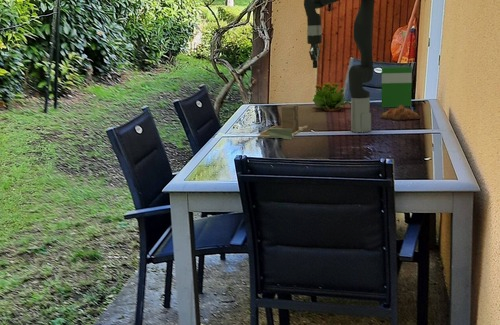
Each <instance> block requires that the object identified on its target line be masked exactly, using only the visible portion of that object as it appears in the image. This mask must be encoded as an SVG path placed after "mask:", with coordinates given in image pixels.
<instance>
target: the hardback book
mask: <svg viewBox="0 0 500 325" xmlns="http://www.w3.org/2000/svg"><path fill="white" fill-rule="evenodd" d="M412 69H413V68H412V66H391V67H390V66H388V67H387V66H386V67H385V66H383V67H381V108H382V107H397V108H398V106H399V105H404V106H411V107H412V88H413V87H412V86H413V85H412V83H413V82H412V80H413V78H412V76H413V72H412V71H413V70H412Z"/></svg>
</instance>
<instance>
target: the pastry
mask: <svg viewBox="0 0 500 325" xmlns="http://www.w3.org/2000/svg"><path fill="white" fill-rule="evenodd" d="M381 118H383V120H388V119H392V120H391V121H397V120H402V121H407V120H409V121H412V120H411V119H419V120H420V119H421V116H420V115H419V114H418V113H417V112H416V111H413V110H412V109H410V107H405V106H404V105H399V106H398V107H397V108H388V110H386V111H385V112H382V114H381V115H380V119H381Z"/></svg>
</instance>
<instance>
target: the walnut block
mask: <svg viewBox="0 0 500 325" xmlns="http://www.w3.org/2000/svg"><path fill="white" fill-rule="evenodd" d="M281 126H282V129H292V133H294V132H296V131H298V130H299V127H300V123H299V105H298V104H285V105H283V106H281Z"/></svg>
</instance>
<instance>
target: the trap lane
mask: <svg viewBox="0 0 500 325" xmlns="http://www.w3.org/2000/svg"><path fill="white" fill-rule="evenodd" d="M308 128H309V125H304V126H299V130H298V131H296V132H294V133H292V129H282V125H273V126H271V127H269V128H268V129H265V130H263V131H262V132H260V134H259V135H257V136H256V137H257V139H265V138H283V139H282V140H293V139H294V138H293V137H296V136H297V135H298V134H299V133H301V132H303V131H304V130H306V129H308ZM262 137H264V138H262ZM292 138H293V139H292Z"/></svg>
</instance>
